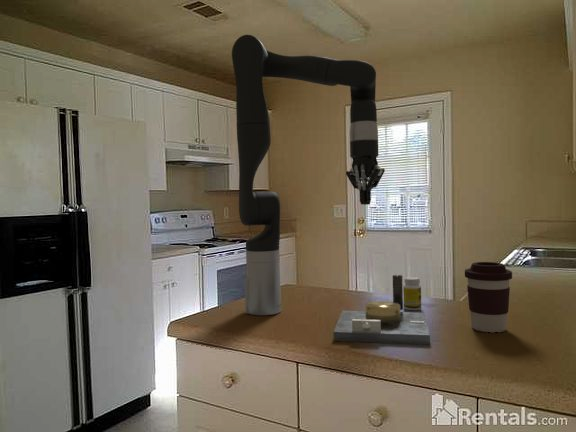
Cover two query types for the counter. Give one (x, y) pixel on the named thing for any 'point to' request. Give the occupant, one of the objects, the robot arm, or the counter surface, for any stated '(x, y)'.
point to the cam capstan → (387, 305)
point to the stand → (382, 329)
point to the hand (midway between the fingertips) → (365, 204)
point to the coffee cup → (488, 295)
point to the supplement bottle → (412, 293)
